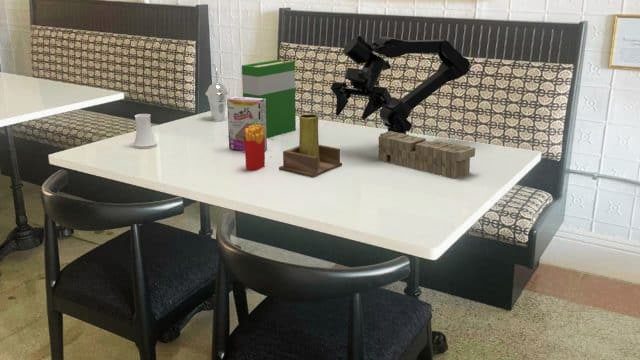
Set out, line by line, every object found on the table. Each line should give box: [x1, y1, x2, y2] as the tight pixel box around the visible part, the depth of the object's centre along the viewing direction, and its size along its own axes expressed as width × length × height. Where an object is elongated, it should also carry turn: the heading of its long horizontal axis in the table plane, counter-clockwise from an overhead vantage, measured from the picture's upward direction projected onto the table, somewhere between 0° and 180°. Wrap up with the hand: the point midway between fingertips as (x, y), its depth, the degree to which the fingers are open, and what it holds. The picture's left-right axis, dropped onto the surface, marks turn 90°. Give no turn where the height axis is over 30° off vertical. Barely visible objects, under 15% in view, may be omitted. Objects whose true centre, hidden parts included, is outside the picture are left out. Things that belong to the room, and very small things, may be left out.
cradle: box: [278, 144, 343, 179], centre depth 185 cm, size 14×12×5 cm
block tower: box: [378, 130, 476, 180], centre depth 186 cm, size 8×8×29 cm
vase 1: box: [132, 113, 158, 150], centre depth 207 cm, size 8×8×10 cm
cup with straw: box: [205, 63, 229, 122], centre depth 240 cm, size 8×9×20 cm
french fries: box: [244, 125, 266, 172], centre depth 185 cm, size 8×4×12 cm, turn 153°
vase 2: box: [298, 113, 320, 166], centre depth 184 cm, size 6×6×14 cm
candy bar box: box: [226, 95, 268, 152], centre depth 201 cm, size 11×5×16 cm, turn 71°
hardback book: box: [241, 59, 297, 139], centre depth 220 cm, size 18×7×24 cm, turn 140°
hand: (349, 116), depth 190 cm, fingers open, 9 cm apart
